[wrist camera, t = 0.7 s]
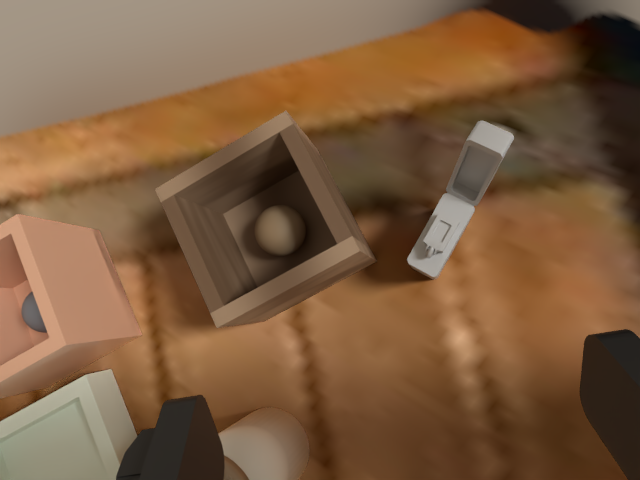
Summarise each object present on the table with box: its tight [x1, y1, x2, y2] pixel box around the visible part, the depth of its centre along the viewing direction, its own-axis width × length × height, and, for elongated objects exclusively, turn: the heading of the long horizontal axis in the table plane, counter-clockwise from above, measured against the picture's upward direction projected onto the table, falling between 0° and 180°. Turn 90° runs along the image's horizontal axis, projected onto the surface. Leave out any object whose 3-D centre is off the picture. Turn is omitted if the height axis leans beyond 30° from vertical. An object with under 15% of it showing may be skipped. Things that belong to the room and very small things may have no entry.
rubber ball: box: [21, 292, 47, 333], centre depth 32 cm, size 3×3×3 cm
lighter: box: [407, 121, 514, 280], centre depth 25 cm, size 7×2×8 cm, turn 150°
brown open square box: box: [155, 111, 377, 328], centre depth 28 cm, size 8×8×7 cm
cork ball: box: [255, 205, 306, 256], centre depth 29 cm, size 3×3×3 cm
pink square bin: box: [0, 214, 142, 398], centre depth 31 cm, size 8×8×7 cm
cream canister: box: [218, 407, 309, 480], centre depth 25 cm, size 5×5×10 cm
